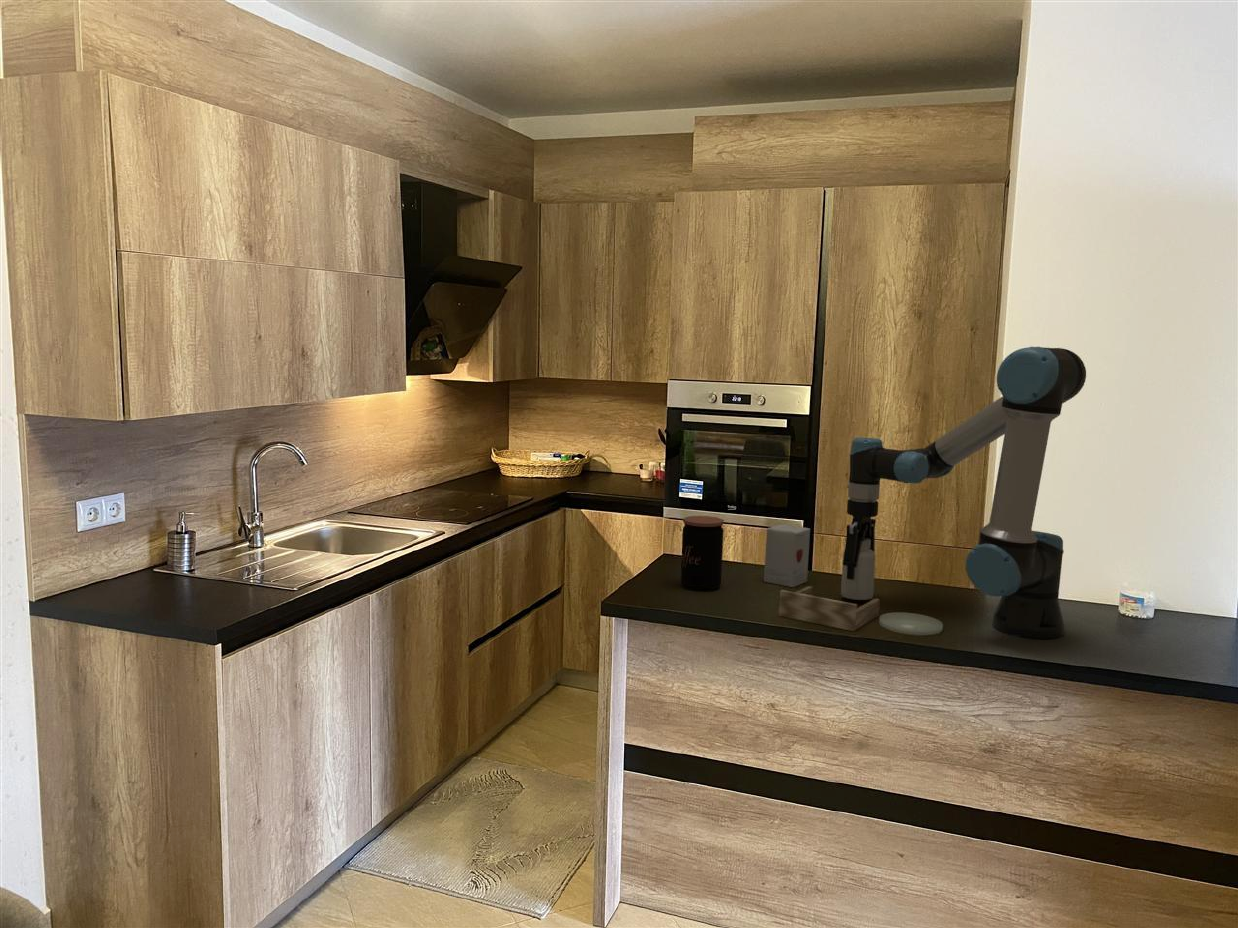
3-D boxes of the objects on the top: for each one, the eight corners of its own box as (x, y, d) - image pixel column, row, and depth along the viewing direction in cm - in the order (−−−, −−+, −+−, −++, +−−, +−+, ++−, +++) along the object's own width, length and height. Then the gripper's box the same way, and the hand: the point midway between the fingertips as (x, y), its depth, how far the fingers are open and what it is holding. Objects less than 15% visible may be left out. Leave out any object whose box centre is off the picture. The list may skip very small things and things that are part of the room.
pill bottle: (845, 590, 239) (849, 534, 237) (876, 595, 234) (880, 538, 233) (836, 597, 232) (840, 539, 230) (867, 602, 228) (871, 543, 226)
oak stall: (878, 615, 220) (880, 591, 219) (853, 631, 207) (855, 605, 206) (807, 601, 231) (808, 578, 230) (778, 615, 218) (780, 590, 217)
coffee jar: (674, 582, 246) (677, 516, 244) (711, 580, 249) (714, 515, 247) (689, 592, 236) (692, 523, 233) (727, 590, 239) (730, 522, 237)
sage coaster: (950, 625, 214) (950, 620, 214) (931, 639, 203) (932, 634, 203) (891, 613, 222) (891, 608, 222) (870, 626, 211) (870, 621, 211)
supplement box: (793, 588, 244) (796, 532, 242) (763, 582, 249) (765, 527, 247) (808, 581, 251) (811, 527, 249) (778, 576, 256) (781, 523, 254)
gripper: (863, 493, 240) (858, 577, 243) (832, 502, 224) (826, 593, 227) (891, 496, 236) (885, 582, 239) (862, 506, 219) (856, 599, 222)
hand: (857, 587), depth 233 cm, fingers closed on pill bottle, 8 cm apart
